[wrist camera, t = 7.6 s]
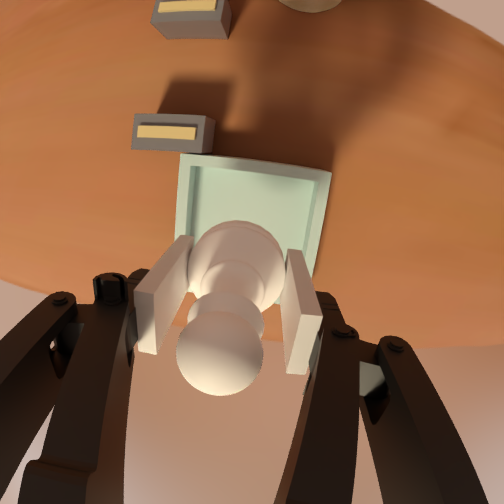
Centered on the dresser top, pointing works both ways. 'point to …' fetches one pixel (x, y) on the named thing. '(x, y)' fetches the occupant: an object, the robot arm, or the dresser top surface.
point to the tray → (253, 199)
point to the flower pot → (311, 5)
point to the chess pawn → (229, 306)
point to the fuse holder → (179, 125)
